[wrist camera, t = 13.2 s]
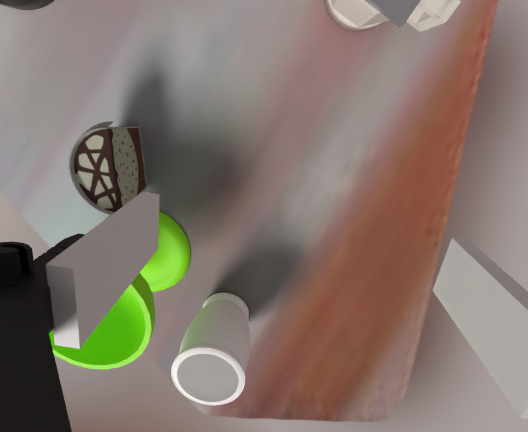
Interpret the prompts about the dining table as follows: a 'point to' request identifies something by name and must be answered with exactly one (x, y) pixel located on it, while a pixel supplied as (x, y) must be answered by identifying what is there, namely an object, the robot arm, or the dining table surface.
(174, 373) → the jar
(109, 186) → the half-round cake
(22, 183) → the dining table surface
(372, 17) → the press pot
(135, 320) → the wineglass
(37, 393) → the robot arm
